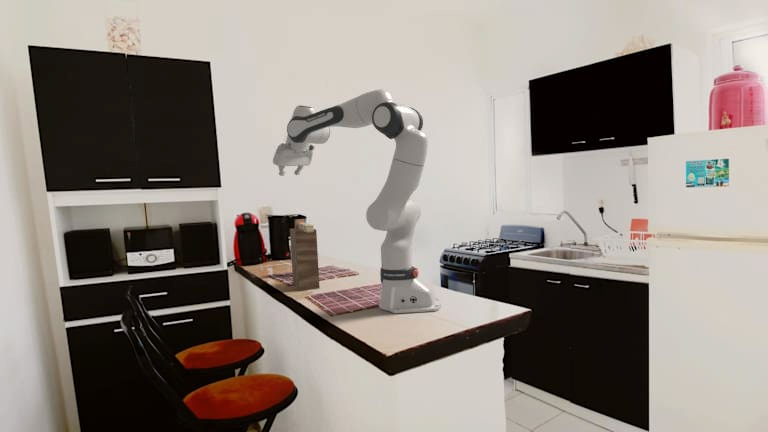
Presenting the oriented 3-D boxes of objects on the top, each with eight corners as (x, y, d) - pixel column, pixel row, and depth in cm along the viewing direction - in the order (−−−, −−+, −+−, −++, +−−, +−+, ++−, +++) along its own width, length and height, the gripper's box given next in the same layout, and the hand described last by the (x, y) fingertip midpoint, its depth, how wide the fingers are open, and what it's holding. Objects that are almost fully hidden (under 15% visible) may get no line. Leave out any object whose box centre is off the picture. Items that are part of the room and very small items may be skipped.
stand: (319, 288, 183) (316, 229, 181) (299, 291, 180) (295, 231, 178) (312, 281, 198) (308, 227, 196) (293, 283, 194) (289, 228, 193)
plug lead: (315, 231, 172) (314, 222, 172) (305, 232, 170) (304, 223, 170) (303, 227, 195) (303, 219, 195) (295, 228, 194) (294, 219, 193)
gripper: (284, 145, 163) (277, 178, 167) (317, 146, 181) (309, 176, 185) (273, 140, 165) (266, 173, 170) (306, 142, 183) (299, 171, 187)
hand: (289, 175), depth 177 cm, fingers open, 8 cm apart
